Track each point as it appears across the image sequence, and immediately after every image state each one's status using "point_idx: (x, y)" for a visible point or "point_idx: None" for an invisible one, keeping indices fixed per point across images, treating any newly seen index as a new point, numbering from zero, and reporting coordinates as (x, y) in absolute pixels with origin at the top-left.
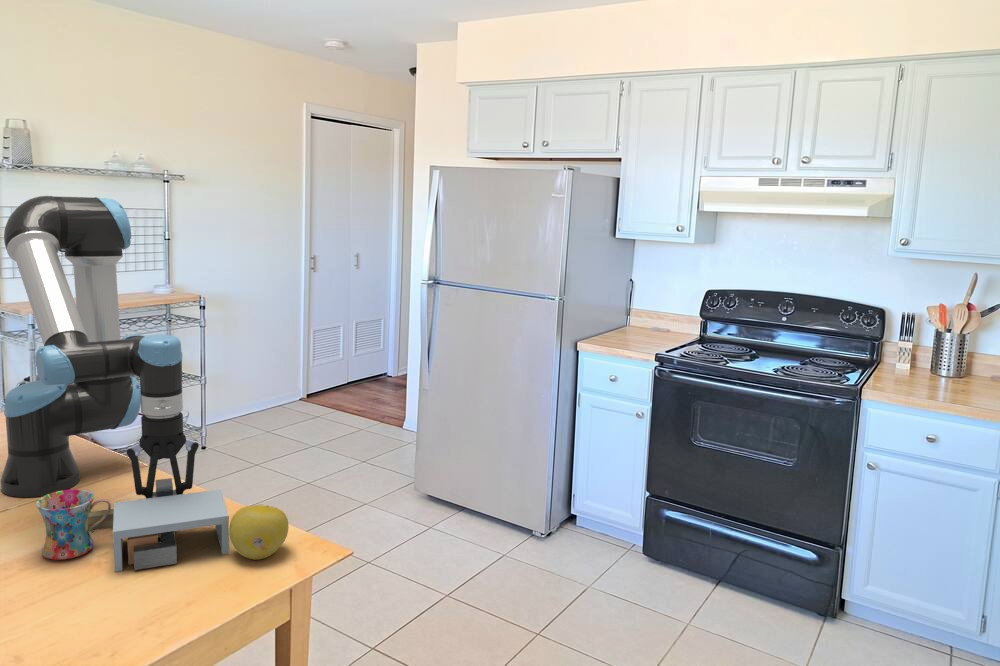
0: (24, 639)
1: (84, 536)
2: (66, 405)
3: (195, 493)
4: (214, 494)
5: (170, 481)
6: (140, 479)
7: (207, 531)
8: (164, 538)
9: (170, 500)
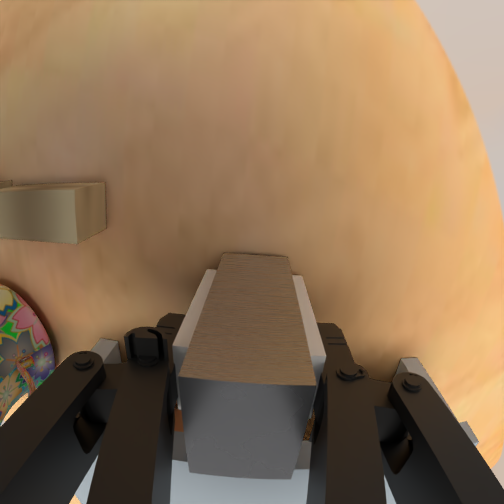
0: (73, 501)
1: (25, 391)
2: None
3: None
4: None
5: (291, 434)
6: (78, 483)
7: (372, 373)
8: None
9: (259, 497)
